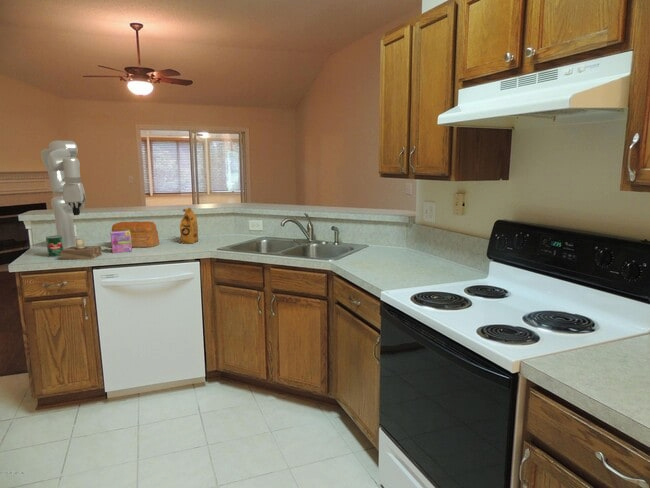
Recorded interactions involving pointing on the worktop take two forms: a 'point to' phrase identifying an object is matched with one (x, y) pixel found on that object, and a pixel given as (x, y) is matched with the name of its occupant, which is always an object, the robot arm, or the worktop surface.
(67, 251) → the board
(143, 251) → the worktop surface
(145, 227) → the bread
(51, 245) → the canned tomato
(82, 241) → the peg
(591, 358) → the worktop surface
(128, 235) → the box
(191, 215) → the coffee package
